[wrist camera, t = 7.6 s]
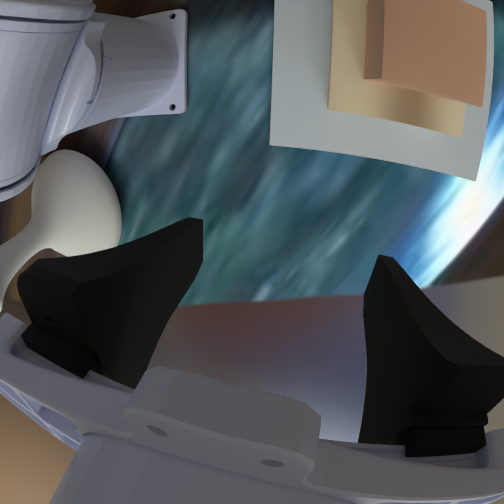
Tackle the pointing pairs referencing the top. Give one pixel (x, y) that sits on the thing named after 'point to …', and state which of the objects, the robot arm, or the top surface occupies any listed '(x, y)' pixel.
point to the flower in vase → (65, 213)
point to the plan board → (353, 125)
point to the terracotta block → (428, 47)
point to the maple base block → (375, 93)
